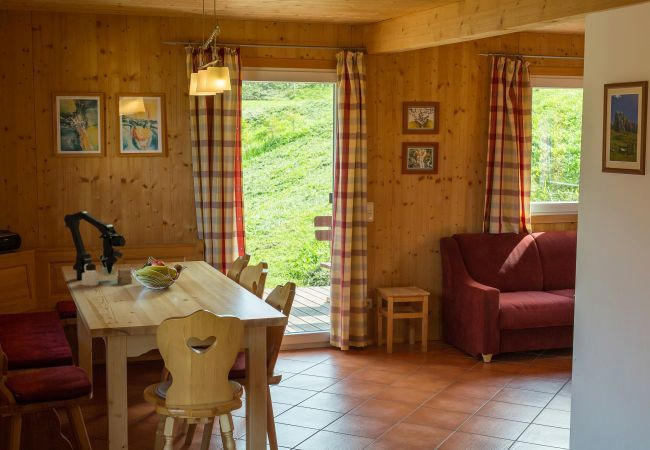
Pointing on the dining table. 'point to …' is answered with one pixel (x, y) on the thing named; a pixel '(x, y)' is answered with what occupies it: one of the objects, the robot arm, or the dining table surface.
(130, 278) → the tower base
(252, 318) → the dining table surface
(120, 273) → the tower top
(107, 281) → the mat
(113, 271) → the sage block
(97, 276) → the medicine bottle
